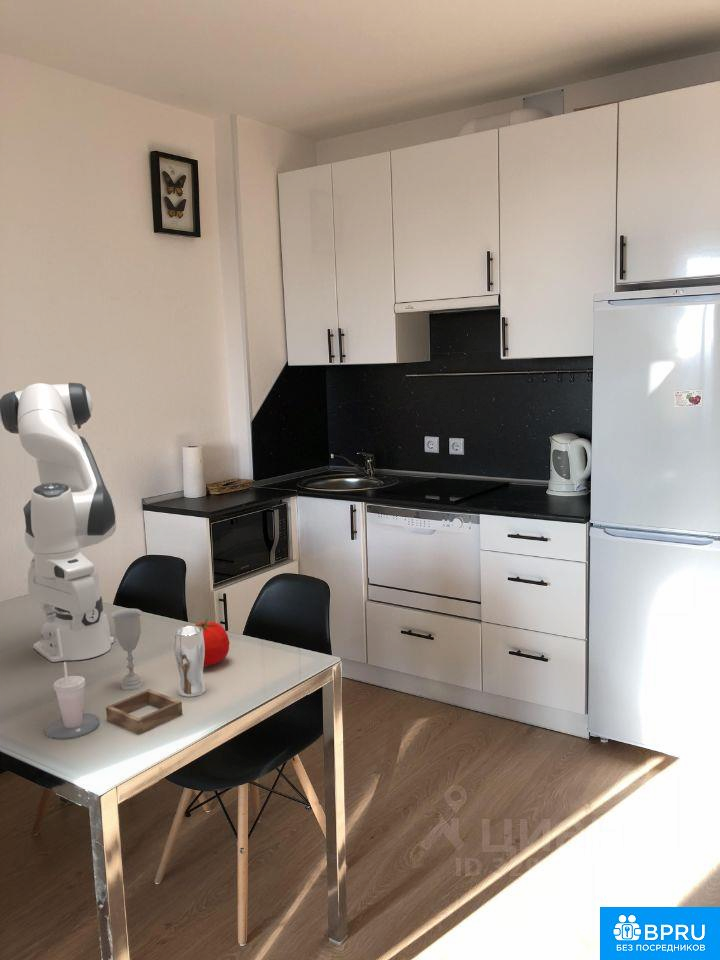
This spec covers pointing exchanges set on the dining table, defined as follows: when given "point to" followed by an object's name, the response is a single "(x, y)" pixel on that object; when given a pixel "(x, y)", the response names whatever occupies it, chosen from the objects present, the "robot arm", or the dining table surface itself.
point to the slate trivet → (61, 732)
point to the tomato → (214, 642)
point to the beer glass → (190, 659)
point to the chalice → (128, 641)
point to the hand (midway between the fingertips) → (63, 626)
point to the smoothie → (70, 698)
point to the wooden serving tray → (140, 725)
